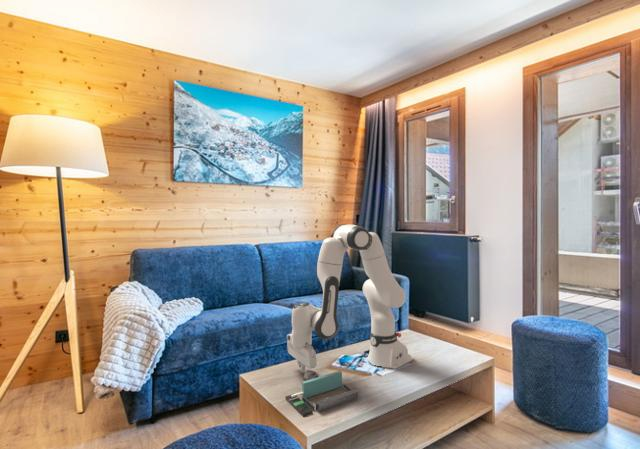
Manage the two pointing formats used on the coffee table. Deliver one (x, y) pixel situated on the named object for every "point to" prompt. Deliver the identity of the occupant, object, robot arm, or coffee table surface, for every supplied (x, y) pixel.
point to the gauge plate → (320, 384)
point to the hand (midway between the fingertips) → (301, 370)
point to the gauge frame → (322, 402)
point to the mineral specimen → (310, 375)
